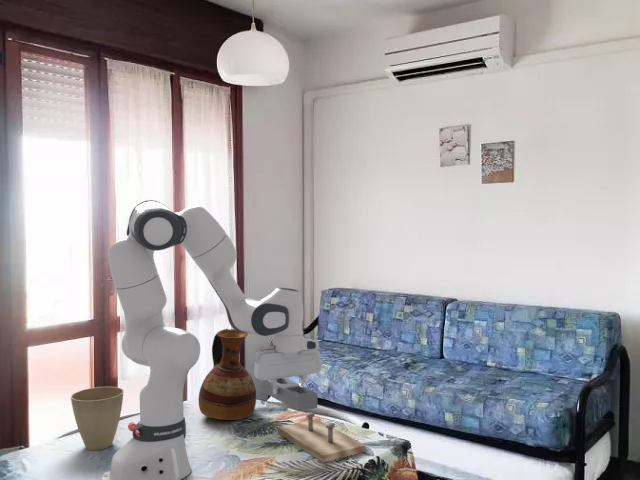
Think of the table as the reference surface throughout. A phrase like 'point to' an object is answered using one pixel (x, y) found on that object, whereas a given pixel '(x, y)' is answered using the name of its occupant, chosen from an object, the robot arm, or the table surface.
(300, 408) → the block
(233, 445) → the table surface
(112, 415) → the plant pot
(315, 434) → the board
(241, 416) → the ceramic pitcher
